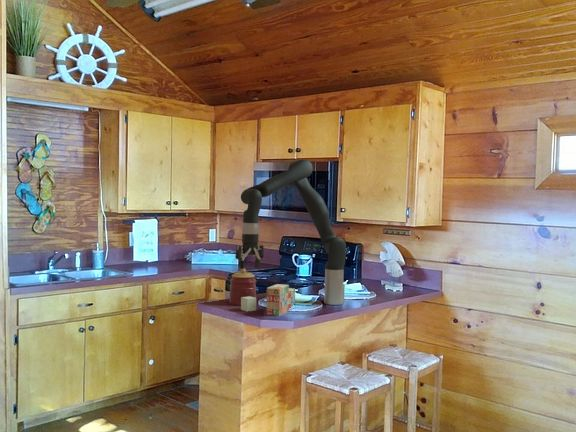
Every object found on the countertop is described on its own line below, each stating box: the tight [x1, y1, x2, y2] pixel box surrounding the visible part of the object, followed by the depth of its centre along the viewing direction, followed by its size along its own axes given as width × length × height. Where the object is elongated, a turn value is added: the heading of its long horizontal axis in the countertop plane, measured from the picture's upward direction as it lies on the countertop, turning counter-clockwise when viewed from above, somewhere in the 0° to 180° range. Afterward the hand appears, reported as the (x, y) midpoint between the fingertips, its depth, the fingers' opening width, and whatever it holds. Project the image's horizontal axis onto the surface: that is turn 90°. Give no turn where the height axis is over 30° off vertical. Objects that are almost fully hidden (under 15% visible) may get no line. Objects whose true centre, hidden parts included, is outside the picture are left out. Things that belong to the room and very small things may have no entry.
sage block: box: [240, 296, 257, 312], centre depth 254 cm, size 5×5×6 cm
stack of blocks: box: [265, 283, 296, 317], centre depth 254 cm, size 21×6×12 cm, turn 160°
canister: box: [228, 268, 257, 307], centre depth 267 cm, size 13×13×18 cm
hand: (249, 268), depth 253 cm, fingers open, 8 cm apart
